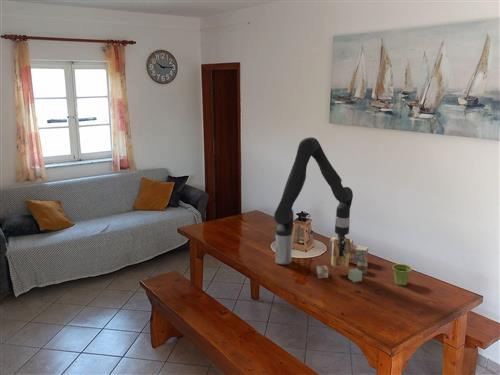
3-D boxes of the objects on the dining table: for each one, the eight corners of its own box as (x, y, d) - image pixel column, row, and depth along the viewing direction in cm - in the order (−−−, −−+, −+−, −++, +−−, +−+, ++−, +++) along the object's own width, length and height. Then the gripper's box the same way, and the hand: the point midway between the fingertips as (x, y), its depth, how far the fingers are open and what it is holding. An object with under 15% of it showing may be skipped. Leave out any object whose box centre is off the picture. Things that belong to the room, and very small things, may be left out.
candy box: (346, 263, 244) (348, 237, 240) (348, 266, 240) (350, 240, 236) (330, 263, 244) (332, 237, 240) (332, 266, 240) (334, 240, 236)
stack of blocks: (367, 262, 258) (368, 242, 255) (365, 266, 252) (366, 245, 249) (331, 255, 267) (332, 236, 264) (328, 259, 262) (329, 239, 259)
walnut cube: (356, 273, 242) (357, 265, 241) (357, 270, 247) (358, 261, 246) (366, 275, 241) (366, 266, 239) (366, 271, 245) (367, 262, 244)
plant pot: (401, 288, 225) (402, 273, 222) (387, 281, 233) (388, 266, 231) (414, 284, 229) (415, 269, 227) (400, 277, 237) (401, 262, 235)
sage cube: (353, 282, 232) (354, 273, 231) (348, 278, 237) (348, 269, 236) (361, 280, 234) (362, 271, 233) (356, 276, 239) (356, 268, 237)
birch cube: (318, 278, 237) (319, 269, 236) (316, 274, 242) (316, 265, 241) (328, 277, 238) (328, 269, 236) (325, 273, 242) (325, 265, 241)
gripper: (333, 220, 243) (332, 249, 247) (336, 228, 229) (334, 259, 234) (347, 220, 243) (345, 249, 247) (351, 229, 229) (349, 260, 233)
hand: (340, 254), depth 240 cm, fingers closed on candy box, 4 cm apart
